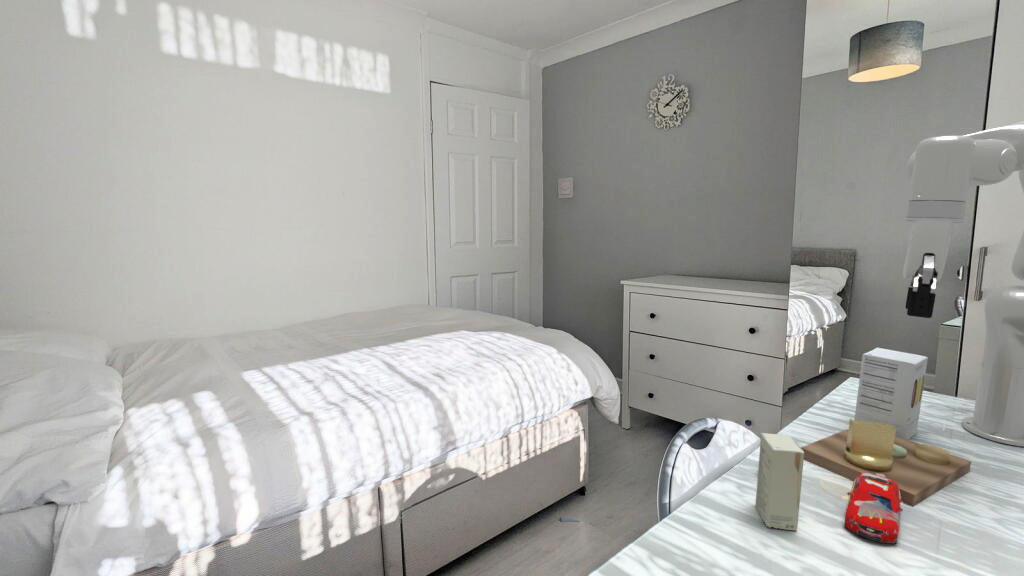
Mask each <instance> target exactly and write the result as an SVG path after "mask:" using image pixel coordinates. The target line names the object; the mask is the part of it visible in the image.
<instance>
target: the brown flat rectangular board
mask: <svg viewBox="0 0 1024 576" xmlns="http://www.w3.org/2000/svg"><path fill="white" fill-rule="evenodd" d="M848 429H849V428H847V429H845V430H842V431H840V432H839V431H838V432H837V433H834V434H832V435H829V436H827V437H824V438H821V439H819V440H816V441H814V442H812V443H811V442H810V443H808V444H806V445H804V446H800V447H801V449H802V450H803V451H804V460H805V461H807V462H810V463H812V464H814V465H817V466H819V467H820V468H824V469H825V470H827V471H831V472H833V473H834V474H837V475H839V476H842V477H845V478H847V479H849V480H852V481H853V482H854V481H855V479H856V478H857V476H858V475H859V474H860V473H869V474H873V475H877V476H881V477H884V478H887V479H890V480H892V481H894V482H895V483H897V485H898V487H899V491H900V494H901V502H902V503H904V504H906V505H909V506H911V507H915V505H918V504H919V503H921V502H922V501H924V500H926V499H927V498H929V497H930V496H932V495H934V494H935V493H937V492H939V491H940V490H942V489H944V488H945V487H947V486H948V485H950V484H952V483H953V482H955V481H956V480H958V479H960V478H962V477H963V476H965V475H967V474H968V473H970V471H971V466H972V461H971V460H969V459H965V458H963V457H960V456H958V455H954V454H952V453H950V452H949V451H948V450H946V449H944V448H942V447H939V446H935V445H932V444H927V443H926V444H924V443H919V442H915V441H913V440H910V439H909V440H907V439H904V438H901V437H898V436H895V438H894V446H893V453H892V457H893V464H892V469H891V470H889V471H874V470H869V469H865V468H862V467H859V466H856V465H854V464H852V463H850V462H849V461H848V460H846V459H845V457H844V452H845V446H847V437H848ZM901 502H900V503H901Z"/></svg>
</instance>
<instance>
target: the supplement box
mask: <svg viewBox="0 0 1024 576" xmlns="http://www.w3.org/2000/svg"><path fill="white" fill-rule="evenodd" d="M928 359H929V358H928V356H925V355H919V354H915V353H911V352H910V353H908V352H903V351H898V350H893V349H886V348H881V347H875V348H874V349H872V350H870V351H868V352H865V353H862V356H861V363H860V372H859V381H858V388H857V398H856V405H855V412H854V419H853V420H861V421H871V422H880V423H890V424H892V425H893V426H894V427H896V431H895V436H898V437H901V438H904V439H907V440H910V439H911V438H912V437H914V435H915V434H917V433H918V427H919V426H918V425H919V420H920V412H921V405H922V400H923V393H924V386H925V379H926V373H927V368H928V367H927V366H928Z"/></svg>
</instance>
